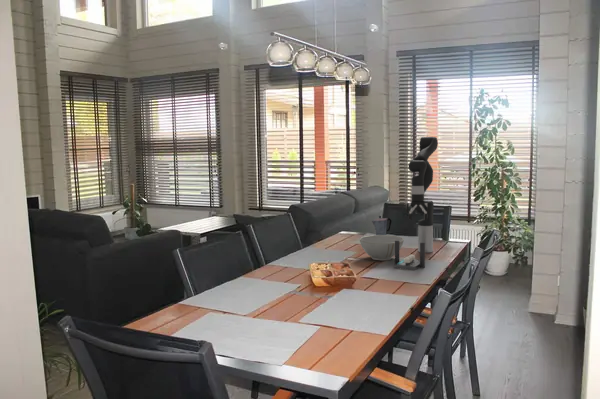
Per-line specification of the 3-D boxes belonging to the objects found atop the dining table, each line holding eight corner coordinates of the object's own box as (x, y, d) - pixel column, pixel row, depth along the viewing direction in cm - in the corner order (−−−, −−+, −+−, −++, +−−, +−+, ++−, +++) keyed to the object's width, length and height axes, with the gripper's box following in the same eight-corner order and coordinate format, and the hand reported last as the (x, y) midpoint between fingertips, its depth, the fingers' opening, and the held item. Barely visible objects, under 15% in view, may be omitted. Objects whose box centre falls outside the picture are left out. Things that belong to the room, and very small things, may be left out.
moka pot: (368, 243, 362) (368, 215, 359) (387, 241, 368) (387, 213, 366) (376, 246, 353) (376, 217, 351) (395, 243, 359) (394, 215, 357)
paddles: (409, 258, 299) (409, 254, 299) (414, 259, 298) (414, 255, 297) (404, 262, 291) (404, 258, 291) (409, 262, 289) (409, 258, 289)
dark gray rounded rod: (395, 264, 300) (395, 240, 299) (400, 264, 299) (400, 240, 297) (394, 264, 298) (394, 241, 296) (398, 265, 297) (398, 241, 295)
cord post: (420, 266, 292) (420, 242, 291) (425, 267, 291) (425, 242, 290) (419, 267, 290) (419, 243, 289) (423, 268, 289) (423, 243, 287)
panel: (404, 262, 304) (404, 257, 304) (424, 264, 298) (424, 259, 298) (394, 267, 291) (394, 263, 291) (415, 270, 285) (415, 265, 284)
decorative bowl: (403, 263, 300) (403, 243, 299) (357, 262, 306) (357, 242, 304) (403, 253, 326) (403, 235, 325) (361, 253, 332) (361, 234, 331)
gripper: (428, 192, 316) (428, 219, 317) (405, 193, 317) (405, 219, 318) (430, 193, 308) (430, 220, 309) (406, 193, 309) (406, 220, 310)
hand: (417, 219), depth 313 cm, fingers open, 8 cm apart
